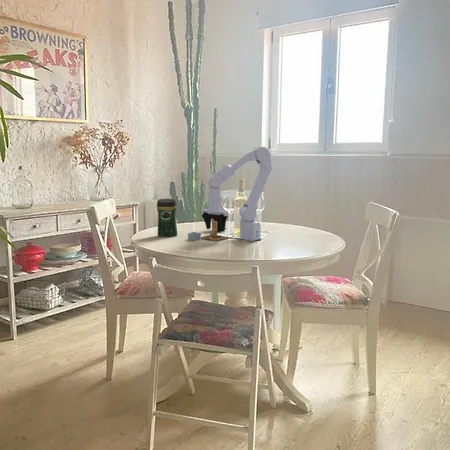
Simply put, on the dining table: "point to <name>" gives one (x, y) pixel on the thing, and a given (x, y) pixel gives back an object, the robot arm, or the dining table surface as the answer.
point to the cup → (194, 236)
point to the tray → (209, 237)
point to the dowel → (214, 230)
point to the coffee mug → (214, 219)
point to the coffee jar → (167, 218)
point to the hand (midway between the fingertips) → (214, 229)
